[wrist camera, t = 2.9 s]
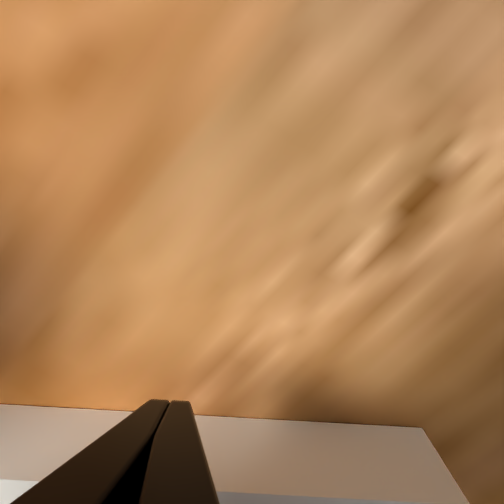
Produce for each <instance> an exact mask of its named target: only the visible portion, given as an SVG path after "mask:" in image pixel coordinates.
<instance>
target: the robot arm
mask: <svg viewBox="0 0 504 504" xmlns="http://www.w3.org/2000/svg"><path fill="white" fill-rule="evenodd" d="M10 504H220V503H219V499H218V496H217V493H216V489H215V486H214V482H213V479H212V475H211V472H210V468H209V465H208V462H207V458H206V455H205V451H204V448H203V444H202V441H201V437H200V434H199V431H198V427H197V424H196V420H195V417H194V413H193V410H192V407H191V404H190V402H189V401H175V400H174V401H171V402H169V401H168V400H157V399H151V400H149V401H148V402H146V403H145V404H143V405H142V406H141V407H139V408H138V409H137V410H135V411H134V412H133V413H131V414H130V415H129V416H127V417H126V418H125V419H123V420H122V421H121V422H119V423H118V424H116V425H115V426H114V427H112V428H111V429H110V430H108V431H107V432H106V433H104V434H103V435H102V436H100V437H99V438H98V439H96V440H95V441H94V442H92V443H91V444H89V445H88V446H87V447H85V448H84V449H83V450H81V451H80V452H79V453H77V454H76V455H75V456H73V457H72V458H71V459H69V460H68V461H67V462H65V463H64V464H62V465H61V466H60V467H58V468H57V469H56V470H54V471H53V472H52V473H50V474H49V475H48V476H46V477H45V478H44V479H42V480H41V481H40V482H38V483H37V484H35V485H34V486H33V487H31V488H30V489H29V490H27V491H26V492H25V493H23V494H22V495H21V496H19V497H18V498H17V499H15V500H14V501H13V502H11V503H10Z"/></svg>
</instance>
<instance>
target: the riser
mask: <svg viewBox="0 0 504 504" xmlns="http://www.w3.org/2000/svg"><path fill="white" fill-rule="evenodd" d="M131 413H133V412H131V411H113V410H95V409H78V408H60V407H42V406H24V405H7V404H0V504H10V503H11V502H13V501H14V500H15V499H17V498H18V497H19V496H21V495H22V494H23V493H25V492H26V491H27V490H29V489H30V488H31V487H33V486H34V485H35V484H37V483H38V482H40V481H41V480H42V479H44V478H45V477H46V476H48V475H49V474H50V473H52V472H53V471H54V470H56V469H57V468H58V467H60V466H61V465H62V464H64V463H65V462H67V461H68V460H69V459H71V458H72V457H73V456H75V455H76V454H77V453H79V452H80V451H81V450H83V449H84V448H85V447H87V446H88V445H89V444H91V443H92V442H94V441H95V440H96V439H98V438H99V437H100V436H102V435H103V434H104V433H106V432H107V431H108V430H110V429H111V428H112V427H114V426H115V425H116V424H118V423H119V422H121V421H122V420H123V419H125V418H126V417H127V416H129V415H130V414H131ZM194 417H195V420H196V424H197V427H198V431H199V434H200V437H201V441H202V444H203V448H204V451H205V455H206V458H207V462H208V465H209V468H210V472H211V475H212V479H213V482H214V486H215V489H216V493H217V496H218V499H219V503H220V504H470V503H469V502H468V500H467V499H466V497H465V495H464V494H463V492H462V491H461V489H460V487H459V486H458V484H457V483H456V481H455V480H454V478H453V476H452V475H451V473H450V472H449V470H448V468H447V467H446V465H445V464H444V462H443V460H442V459H441V457H440V456H439V454H438V452H437V451H436V449H435V448H434V446H433V444H432V443H431V441H430V440H429V438H428V437H427V435H426V433H425V432H424V430H423V429H422V428H415V427H397V426H380V425H362V424H344V423H326V422H308V421H291V420H273V419H255V418H237V417H220V416H202V415H194Z"/></svg>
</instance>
